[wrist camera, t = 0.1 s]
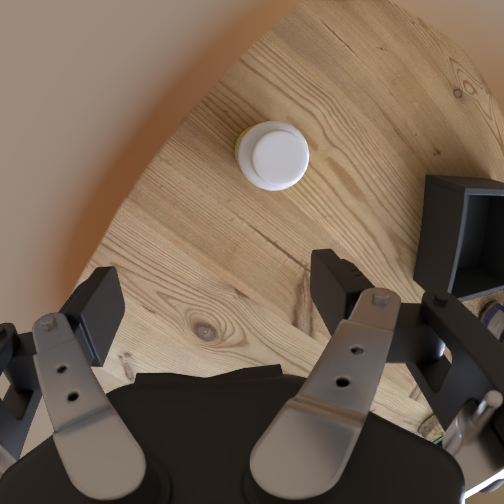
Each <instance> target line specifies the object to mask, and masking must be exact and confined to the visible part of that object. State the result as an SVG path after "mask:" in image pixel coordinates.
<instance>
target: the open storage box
mask: <svg viewBox="0 0 504 504" xmlns="http://www.w3.org/2000/svg"><path fill="white" fill-rule="evenodd" d="M413 280H414V281H415V282H416V283H417V284H418V285H419V286H421V287H422V288H423V289H424V290H425V291H429V290H442V291H445V292H448V293H450V294H452V295H454V296H455V297H456V298H457V299H458V300H459V301H460V302H463V301H467V300H470V299H474V298H477V297H481V296H484V295H488V294H491V293H494V292H497V291H500V290H504V183H502V182H499V181H496V180H493V179H483V178H471V177H457V176H441V175H426V182H425V195H424V207H423V216H422V225H421V233H420V240H419V247H418V254H417V260H416V266H415V272H414V277H413Z"/></svg>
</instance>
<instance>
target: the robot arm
mask: <svg viewBox="0 0 504 504" xmlns="http://www.w3.org/2000/svg"><path fill="white" fill-rule="evenodd" d="M310 293H311V297H312V300H313V302H314V304H315V306H316V308H317V310H318V312H319V313H320V315H321V317H322V319H323V321H324V323H325V325H326V327H327V329H328V331H329V333H330V334H331V336H332V337H331V339H330V341H329V343H328V344H327V346H326V348H325V349H324V351H323V353H322V355H321V356H320V358H319V360H318V361H317V363H316V365H315V366H314V368H313V370H312V371H311V373H310V374H309V376H308V378H305V377H300V376H296V375H289V374H283V373H282V369H281V365H280V364H276V365H268V366H259V367H250V368H243V369H239V370H235V371H232V372H228V373H224V374H220V375H216V376H212V377H208V378H203V377H195V376H188V375H182V374H175V373H137V374H136V378H135V382H134V383H133V384H129V385H125V386H122V387H119V388H117V389H114V390H112V391H110V392H109V393H107V394H105V393H104V391H103V389H102V387H101V386H100V384H99V382H98V380H97V378H96V377H95V375H94V373H93V371H92V369H91V367H90V366H92V367H103V364H104V362H105V359H106V357H107V354H108V352H109V349H110V347H111V344H112V342H113V339H114V337H115V334H116V332H117V330H118V327H119V325H120V323H121V320H122V318H123V316H124V313H125V302H124V298H123V294H122V290H121V286H120V282H119V278H118V274H117V271H116V269H115V267H114V266H109V267H97V268H96V269H95V270H94V272H93V273H92V274H91V275H90V277H89V278H88V279H87V280H86V281H84V282H83V283H81V284H80V285H78V287H77V288H76V289H75V290H74V292H73V294H71V296H70V297H69V299H68V300H67V301H66V302H65V304H64V305H63V307H62V308H61V309H60V311H59V312H57V313H50V314H47V315H45V316H42V317H41V318H39V319H38V320H37V321H36V322H35V323H34V324H33V326H32V332H28V333H23V334H18V333H17V331H16V328H15V326H14V325H13V324H12V323H2V324H0V376H1V374H2V372H4V374H5V376H6V377H7V379H8V380H9V382H10V384H11V385H10V387H9V389H8V391H7V392H6V394H5V397H4V399H3V401H2V400H1V398H0V504H464V502H465V498H467V497H469V496H471V495H472V494H474V493H476V492H478V491H479V492H482V493H489V492H492V491H494V490H496V489H497V488H498V487H499V486H501V485H502V484H503V483H504V345H503V344H502V343H501V342H500V341H499V340H498V339H497V338H496V337H495V336H494V335H493V334H492V333H491V332H490V331H489V330H488V329H487V328H486V326H485V325H484V324H483V323H482V322H481V321H480V320H479V319H478V318H477V317H476V316H475V315H474V314H473V313H472V312H471V311H470V310H468V309H467V308H466V307H465V306H464V305H463V304H462V303H461V302H460V301H459V300H458V299H457V298H456V297H455V296H454V295H452V294H450V293H448V292H445V291H442V290H429V291H426V292H425V293H424V294H423V297H422V301H421V304H420V303H401V298H400V296H399V295H398V294H397V293H395V292H393V291H391V290H389V289H385V288H375V286H374V285H373V284H372V283H371V282H370V281H369V280H368V279H367V278H366V277H365V276H364V274H363V273H362V272H361V271H359V269H358V268H357V267H356V266H355V265H354V264H353V263H351V262H349V261H347V260H345V259H340V258H339V257H338V256H337V255H336V254H335V252H334V251H333V250H332V249H319V250H313V251H312V254H311V273H310ZM445 346H447V348H448V349H449V350H450V352H451V355H452V365H451V363H450V362H449V361H448V359H447V358H446V357H445V355H444V354H443V351H444V348H445ZM385 363H405V364H406V366H407V367H408V369H409V371H410V372H411V374H412V376H413V377H414V379H415V381H416V382H417V384H418V386H419V388H420V389H421V391H422V393H423V394H424V396H425V398H426V400H427V401H428V403H429V405H430V407H431V408H432V410H433V412H434V414H435V416H436V417H437V419H438V421H439V423H440V425H441V426H442V428H443V430H444V432H445V433H444V435H443V439H442V446H443V448H442V447H441V446H439V445H437V444H435V443H433V442H430V441H428V440H426V439H424V438H422V437H420V436H418V435H416V434H414V433H411V432H409V431H407V430H405V429H403V428H401V427H399V426H397V425H395V424H393V423H391V422H390V421H388V420H386V419H384V418H382V417H380V416H378V415H376V414H374V413H372V412H370V408H371V405H372V402H373V400H374V397H375V394H376V391H377V388H378V385H379V382H380V379H381V376H382V373H383V369H384V366H385ZM42 395H43V398H44V401H45V404H46V408H47V411H48V414H49V417H50V420H51V423H52V425H53V429H54V432H53V435H51V436H50V437H49V438H47V439H46V440H45V441H43V442H42V443H41V444H40V445H38V446H37V447H36V448H34V449H33V450H31V451H30V452H29V453H27V454H26V455H25V456H23V457H22V458H21V459H19V458H20V455H21V452H22V449H23V446H24V442H25V440H26V437H27V434H28V431H29V428H30V426H31V423H32V420H33V417H34V415H35V412H36V409H37V407H38V405H39V402H40V399H41V397H42Z"/></svg>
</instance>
